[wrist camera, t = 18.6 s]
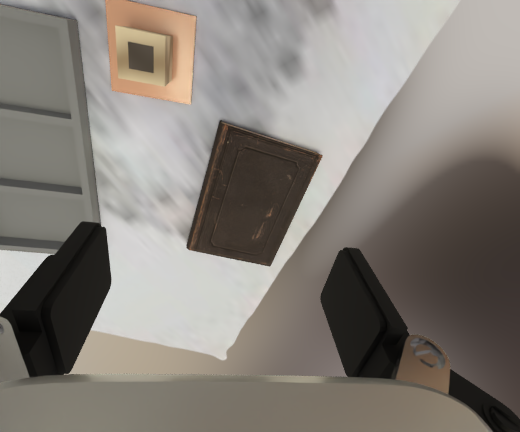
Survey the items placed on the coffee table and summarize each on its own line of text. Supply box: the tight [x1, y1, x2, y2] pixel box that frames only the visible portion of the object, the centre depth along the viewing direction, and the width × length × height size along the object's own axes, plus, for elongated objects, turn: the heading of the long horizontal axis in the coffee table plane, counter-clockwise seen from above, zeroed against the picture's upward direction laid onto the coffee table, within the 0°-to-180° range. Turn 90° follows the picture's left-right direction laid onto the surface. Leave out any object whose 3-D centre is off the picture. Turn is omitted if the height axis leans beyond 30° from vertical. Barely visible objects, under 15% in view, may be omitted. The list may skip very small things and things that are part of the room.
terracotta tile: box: [105, 0, 196, 104], centre depth 36 cm, size 10×10×1 cm
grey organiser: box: [0, 4, 101, 254], centre depth 40 cm, size 34×17×2 cm, turn 169°
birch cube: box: [115, 26, 173, 87], centre depth 33 cm, size 5×5×5 cm
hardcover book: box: [187, 120, 322, 266], centre depth 48 cm, size 16×23×2 cm
